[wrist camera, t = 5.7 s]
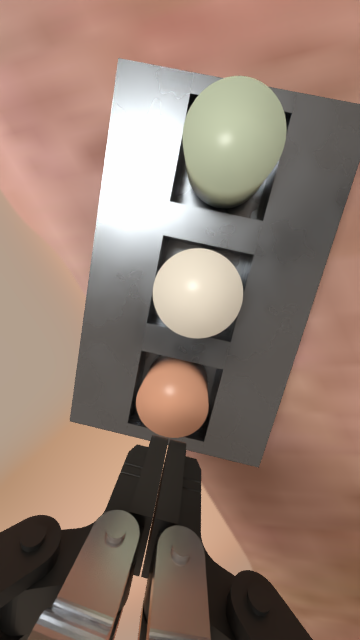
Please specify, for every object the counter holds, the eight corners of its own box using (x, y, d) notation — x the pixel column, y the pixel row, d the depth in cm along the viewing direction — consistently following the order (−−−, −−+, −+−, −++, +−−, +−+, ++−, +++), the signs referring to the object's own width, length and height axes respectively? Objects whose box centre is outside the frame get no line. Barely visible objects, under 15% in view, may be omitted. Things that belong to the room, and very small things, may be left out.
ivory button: (170, 245, 16) (162, 239, 12) (242, 260, 16) (253, 259, 12) (157, 315, 17) (145, 327, 13) (224, 330, 16) (230, 347, 13)
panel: (133, 96, 16) (118, 58, 13) (344, 137, 16) (377, 107, 13) (88, 399, 20) (69, 421, 18) (250, 438, 20) (258, 467, 17)
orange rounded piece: (153, 345, 19) (143, 363, 15) (213, 359, 18) (216, 380, 15) (142, 400, 20) (130, 428, 16) (199, 413, 19) (199, 445, 16)
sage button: (196, 115, 14) (194, 66, 11) (276, 130, 14) (300, 86, 11) (179, 199, 15) (173, 180, 12) (254, 215, 15) (269, 200, 12)
